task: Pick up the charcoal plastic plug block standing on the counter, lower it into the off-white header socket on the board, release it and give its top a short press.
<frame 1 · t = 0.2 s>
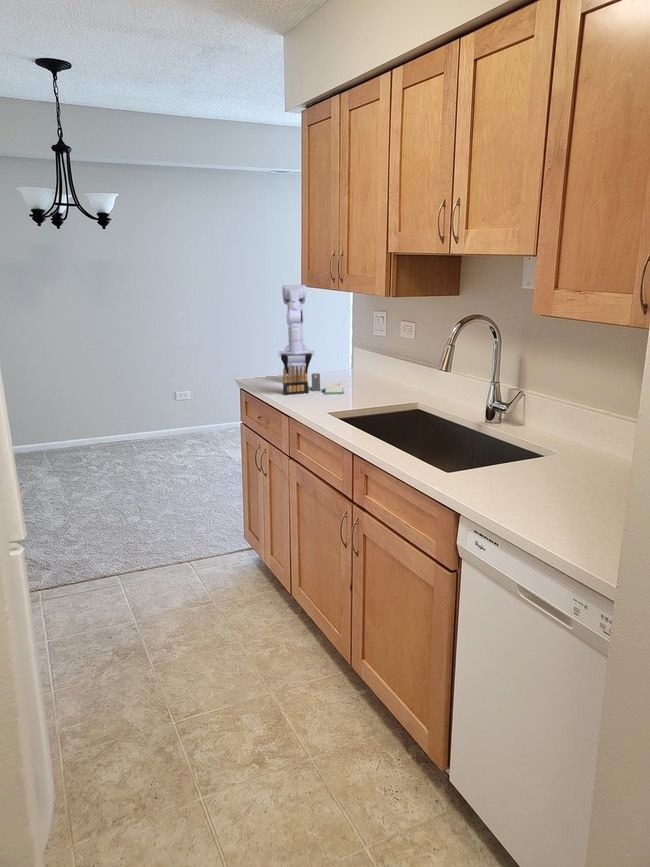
hand: (296, 373, 268), 10 cm above the worktop, fingers open, 7 cm apart
plug: (316, 390, 284), on the worktop
board: (333, 391, 280), on the worktop
ammunition clip: (295, 394, 278), on the worktop
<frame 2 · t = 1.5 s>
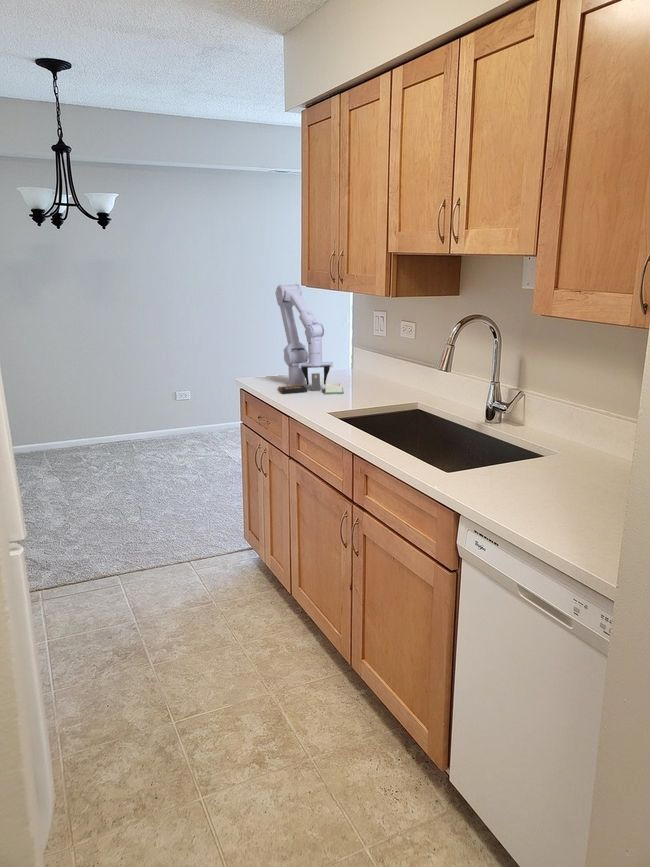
hand: (316, 384, 283), 3 cm above the worktop, fingers open, 7 cm apart
ammunition clip: (295, 390, 279), point 1 cm above the worktop
everything else where it was.
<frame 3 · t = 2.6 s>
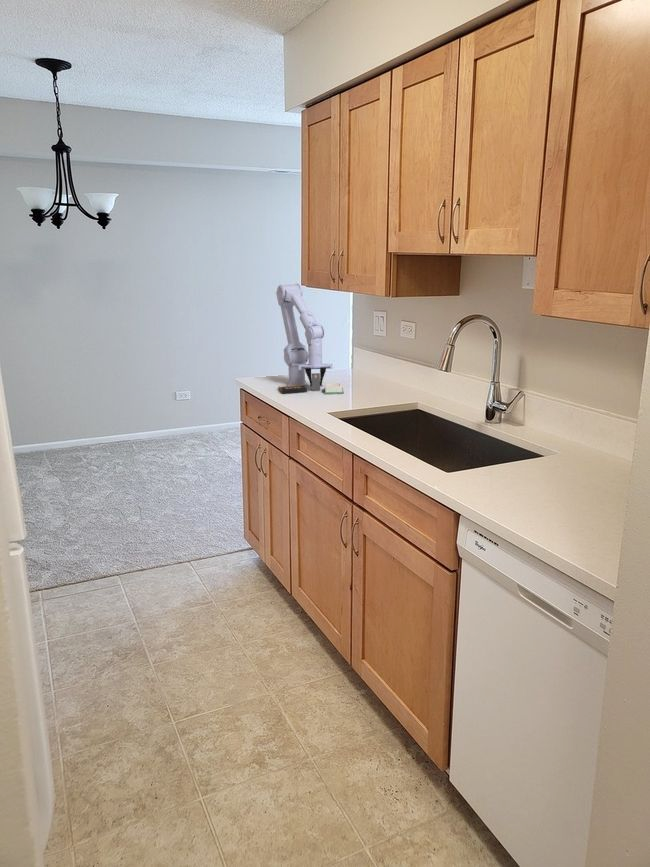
hand: (316, 385, 283), 2 cm above the worktop, fingers closed on plug, 3 cm apart
plug: (316, 390, 284), on the worktop, touching gripper
everything else where it was.
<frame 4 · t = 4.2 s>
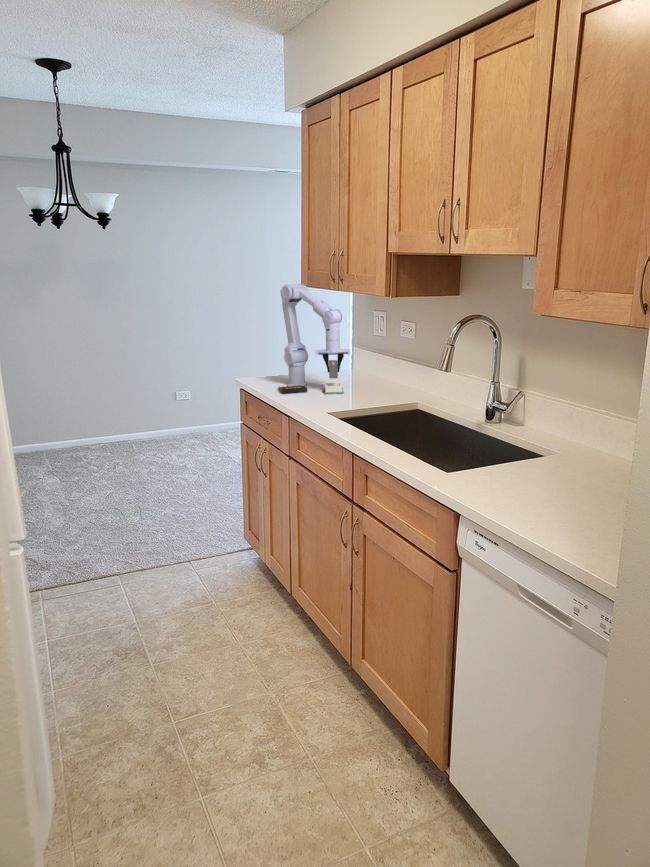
hand: (333, 371, 278), 9 cm above the worktop, fingers closed on plug, 3 cm apart
plug: (333, 377, 278), point 6 cm above the worktop, touching gripper
everything else where it was.
when the fingers open (4 cm above the worktop, at t = 5.7 s): plug stays where it is, resting on board.
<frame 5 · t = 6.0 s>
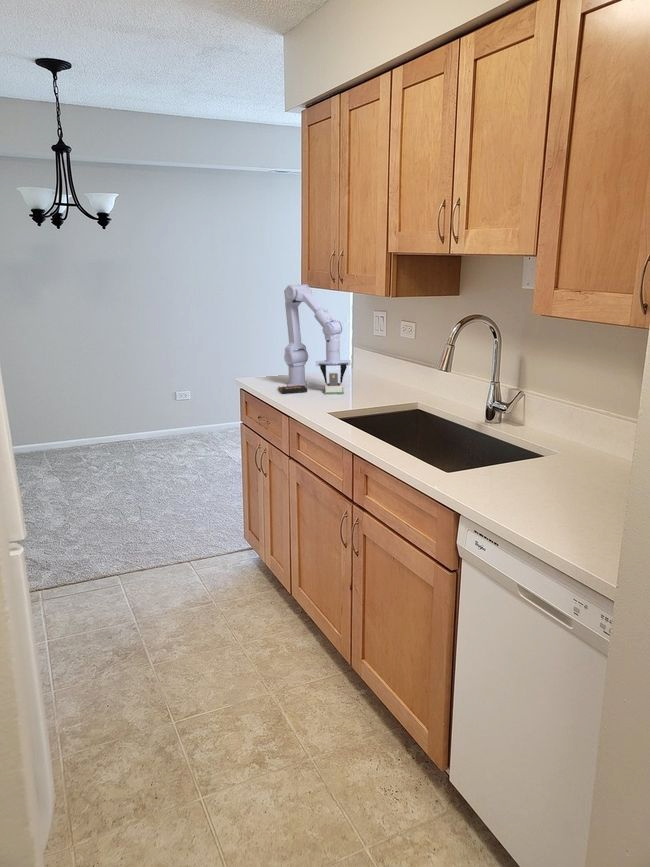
hand: (333, 382, 279), 4 cm above the worktop, fingers open, 6 cm apart
plug: (333, 390, 280), point 1 cm above the worktop, touching board
everything else where it was.
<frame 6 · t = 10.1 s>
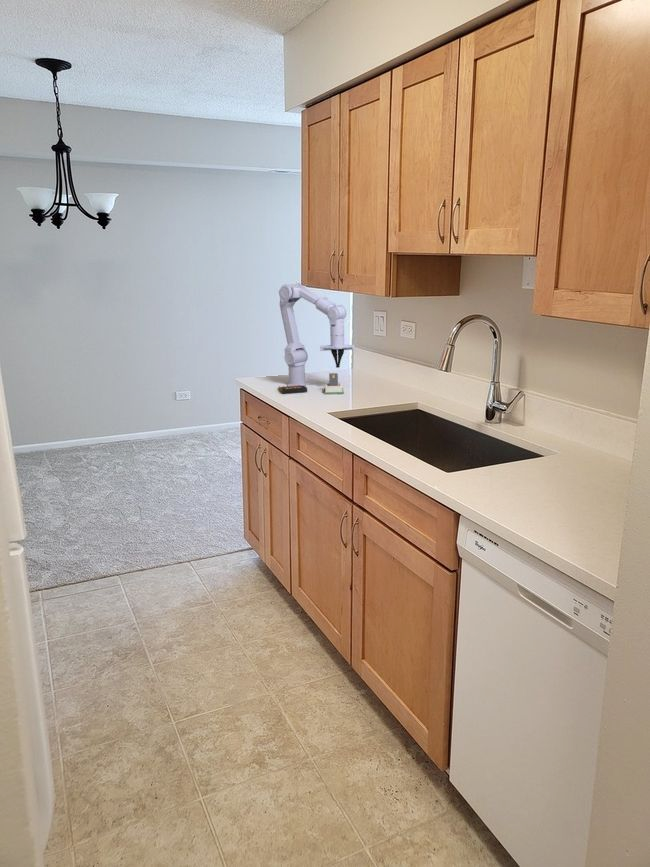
hand: (337, 367, 280), 10 cm above the worktop, fingers closed
nothing on the worktop moved.
at the end: plug 0.2 cm off-centre on the board, point 0.6 cm above the board's base; plug tilted 0°; the gripper is holding nothing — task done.
